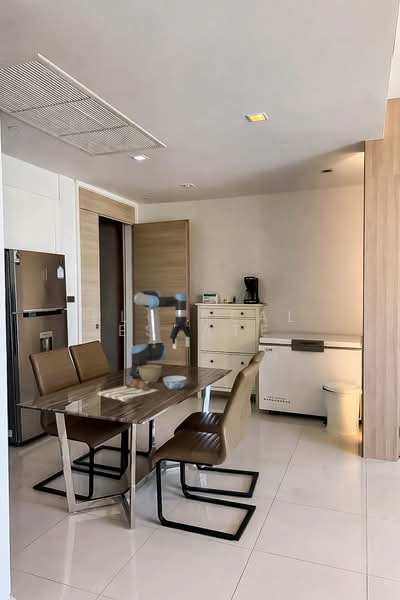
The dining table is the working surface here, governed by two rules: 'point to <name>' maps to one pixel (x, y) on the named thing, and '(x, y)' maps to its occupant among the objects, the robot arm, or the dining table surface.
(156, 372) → the planter bowl
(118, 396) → the gauge board
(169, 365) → the dining table surface
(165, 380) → the chinaware
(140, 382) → the gauge needle
